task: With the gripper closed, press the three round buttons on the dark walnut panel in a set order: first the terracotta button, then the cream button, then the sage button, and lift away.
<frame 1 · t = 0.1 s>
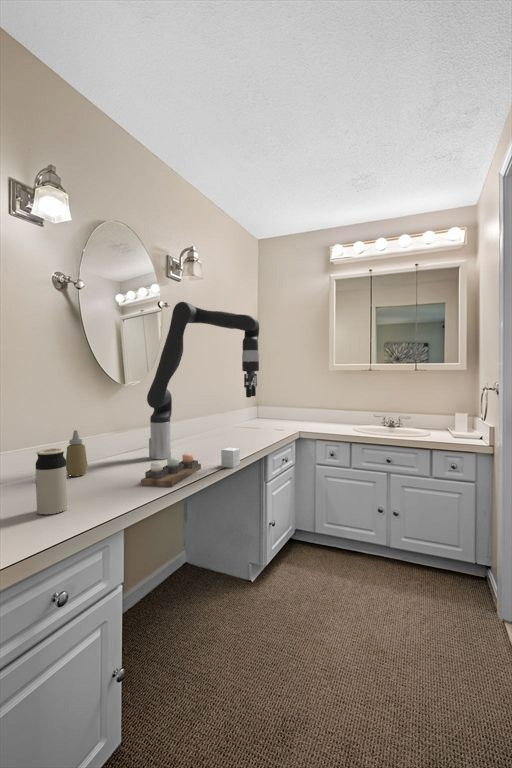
hand: (251, 396, 181), 29 cm above the counter, tool pointing down, fingers open, 8 cm apart
travel mug: (52, 511, 118), on the counter
product box: (230, 466, 173), on the counter
cream button: (156, 467, 149), point 5 cm above the counter, slide at 0.0 cm
button panel: (173, 476, 157), on the counter
sage button: (173, 462, 157), point 5 cm above the counter, slide at 0.0 cm
terracotta button: (187, 458, 164), point 5 cm above the counter, slide at 0.0 cm
squeeze bottle: (76, 475, 160), on the counter
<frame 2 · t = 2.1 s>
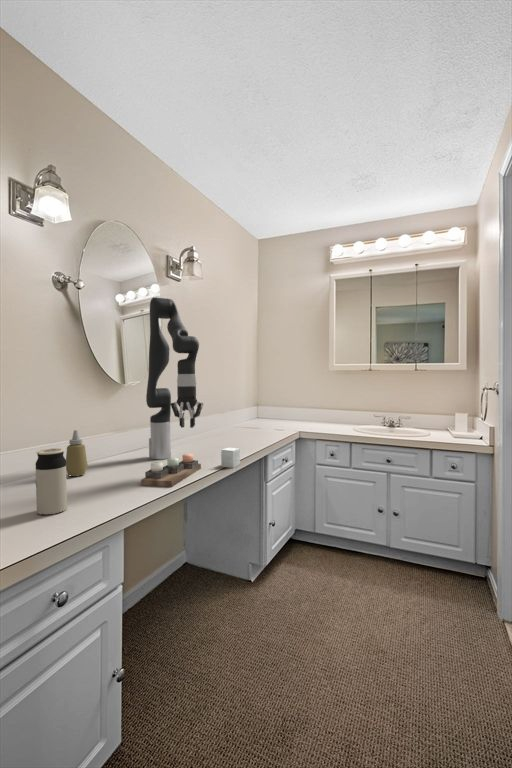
hand: (187, 427, 163), 18 cm above the counter, tool pointing down, fingers open, 3 cm apart
nothing on the counter moved.
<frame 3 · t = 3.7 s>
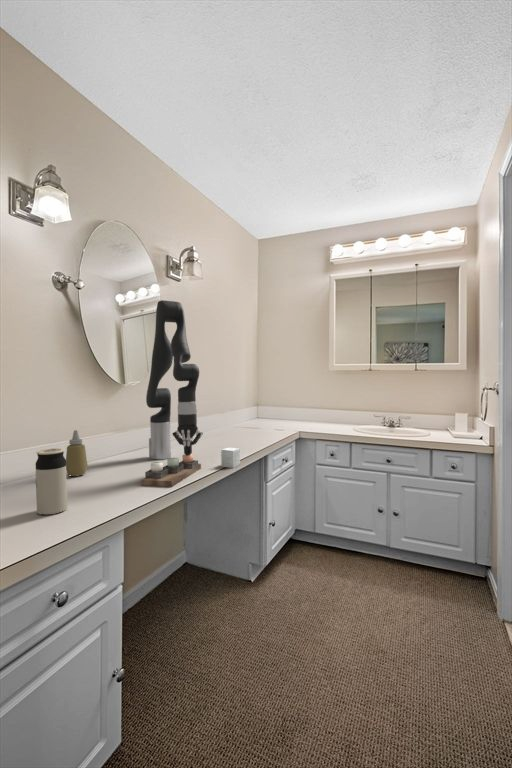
hand: (188, 455, 163), 7 cm above the counter, tool pointing down, fingers closed
terracotta button: (187, 458, 164), point 5 cm above the counter, slide at 0.0 cm, touching gripper
everything else where it was.
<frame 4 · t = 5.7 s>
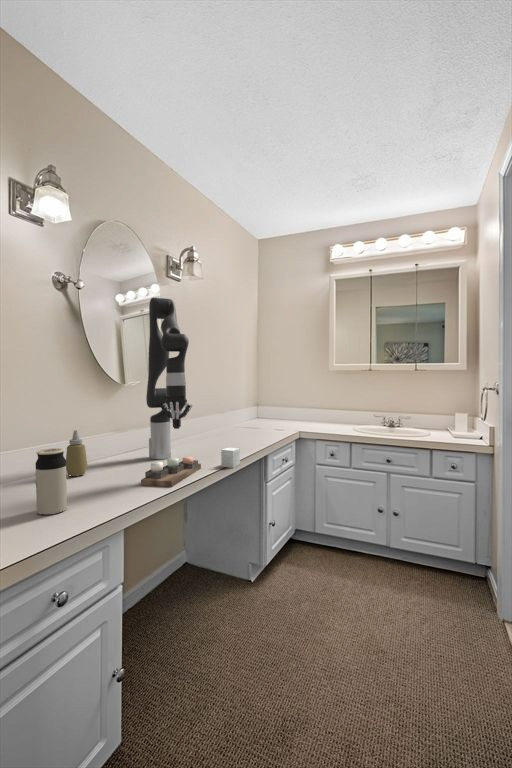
hand: (176, 428, 157), 18 cm above the counter, tool pointing down, fingers closed
terracotta button: (188, 461, 164), point 4 cm above the counter, slide at 1.2 cm
everything else where it was.
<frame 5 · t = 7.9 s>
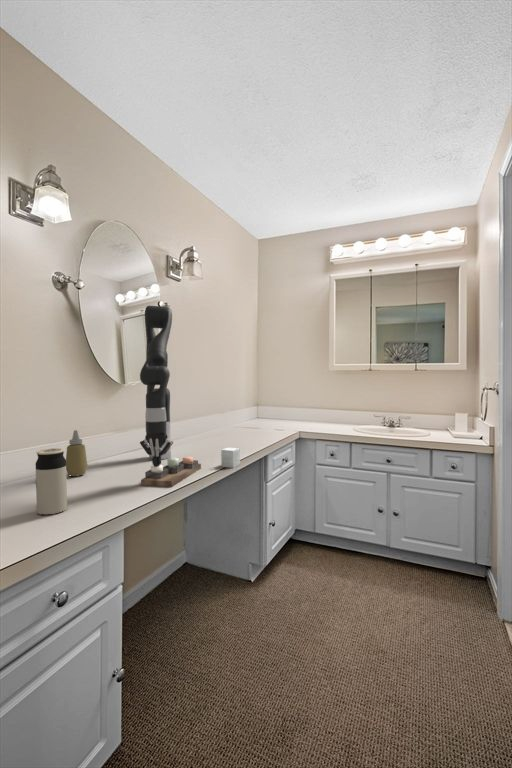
hand: (157, 466, 149), 6 cm above the counter, tool pointing down, fingers closed
cream button: (156, 470, 149), point 4 cm above the counter, slide at 1.1 cm, touching gripper
everything else where it was.
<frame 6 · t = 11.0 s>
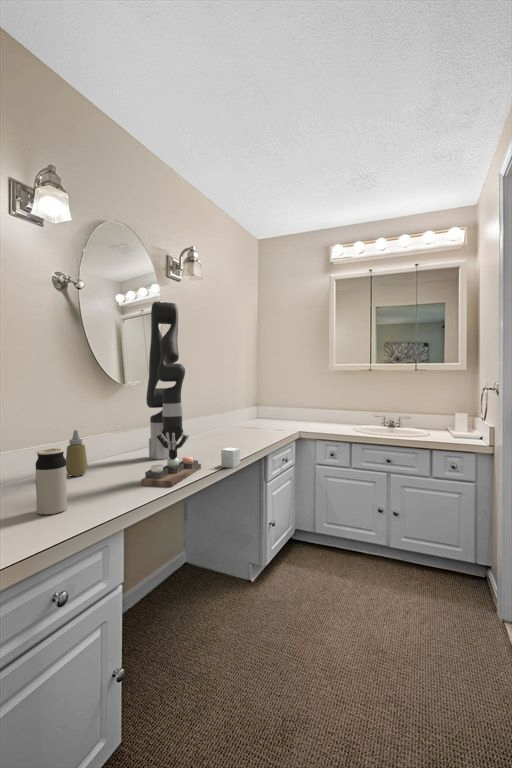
hand: (173, 459, 156), 7 cm above the counter, tool pointing down, fingers closed
cream button: (156, 470, 149), point 4 cm above the counter, slide at 1.2 cm
sage button: (173, 462, 157), point 5 cm above the counter, slide at 0.0 cm, touching gripper
everything else where it was.
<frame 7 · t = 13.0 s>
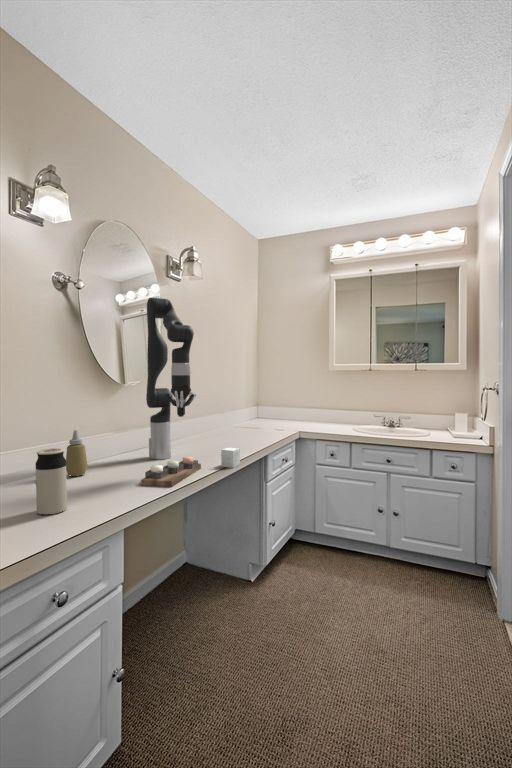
hand: (181, 416, 164), 23 cm above the counter, tool pointing down, fingers closed
sage button: (173, 465, 157), point 4 cm above the counter, slide at 1.2 cm
everything else where it was.
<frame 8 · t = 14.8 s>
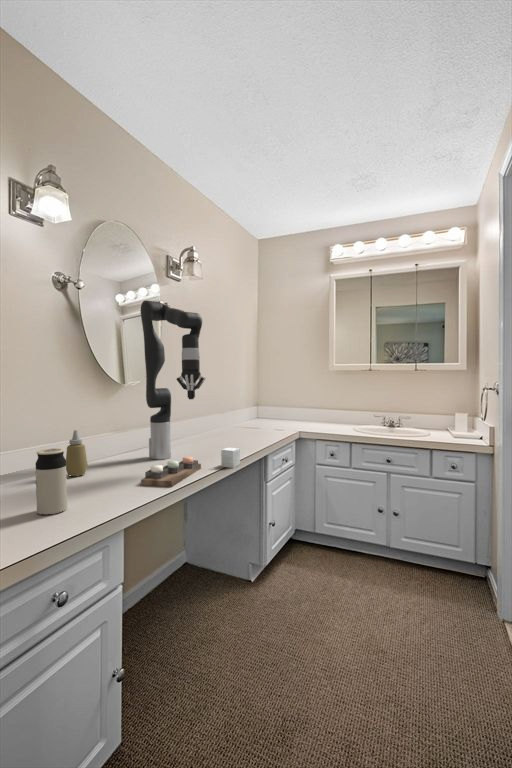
hand: (191, 399, 172), 29 cm above the counter, tool pointing down, fingers closed
nothing on the counter moved.
at the end: terracotta button slide at 1.2 cm; cream button slide at 1.2 cm; sage button slide at 1.2 cm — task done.
